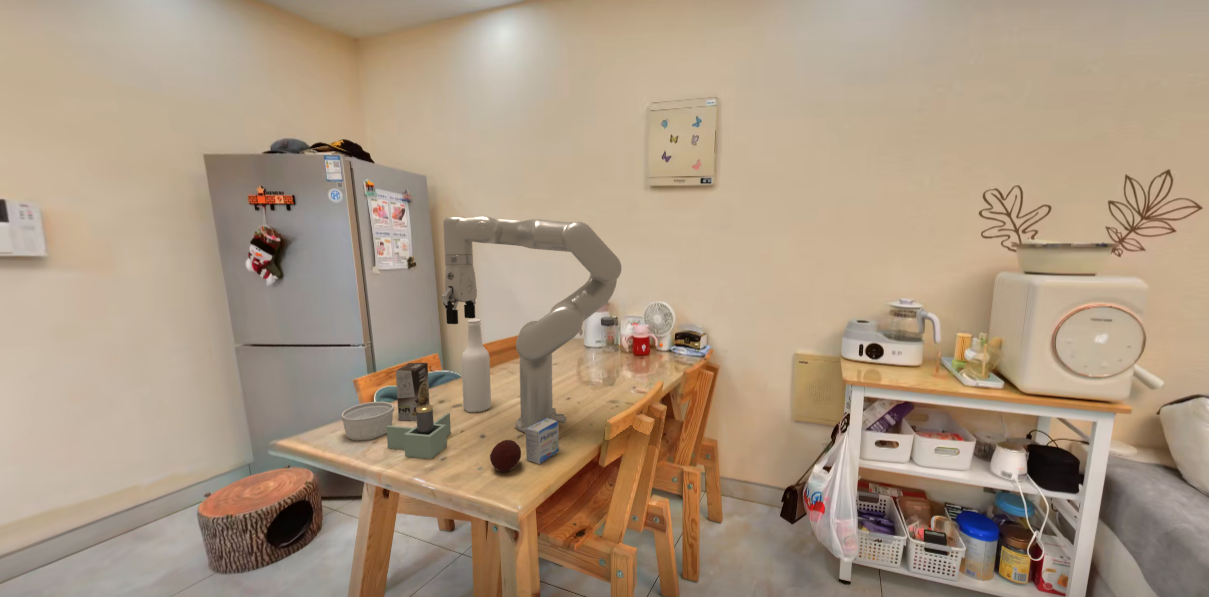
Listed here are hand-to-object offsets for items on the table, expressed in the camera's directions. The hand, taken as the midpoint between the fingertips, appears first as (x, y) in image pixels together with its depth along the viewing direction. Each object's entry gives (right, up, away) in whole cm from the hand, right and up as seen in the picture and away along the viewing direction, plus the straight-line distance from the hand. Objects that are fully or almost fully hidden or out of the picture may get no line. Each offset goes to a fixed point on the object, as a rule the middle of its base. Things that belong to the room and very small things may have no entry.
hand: (461, 320), depth 123 cm
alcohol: (-1, -30, +19) cm, 36 cm away
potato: (+17, -35, -18) cm, 43 cm away
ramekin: (-27, -33, +1) cm, 42 cm away
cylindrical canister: (-6, -34, -10) cm, 36 cm away
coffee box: (-19, -31, +14) cm, 39 cm away
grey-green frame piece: (-9, -33, -6) cm, 35 cm away
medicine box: (+25, -34, -13) cm, 45 cm away
